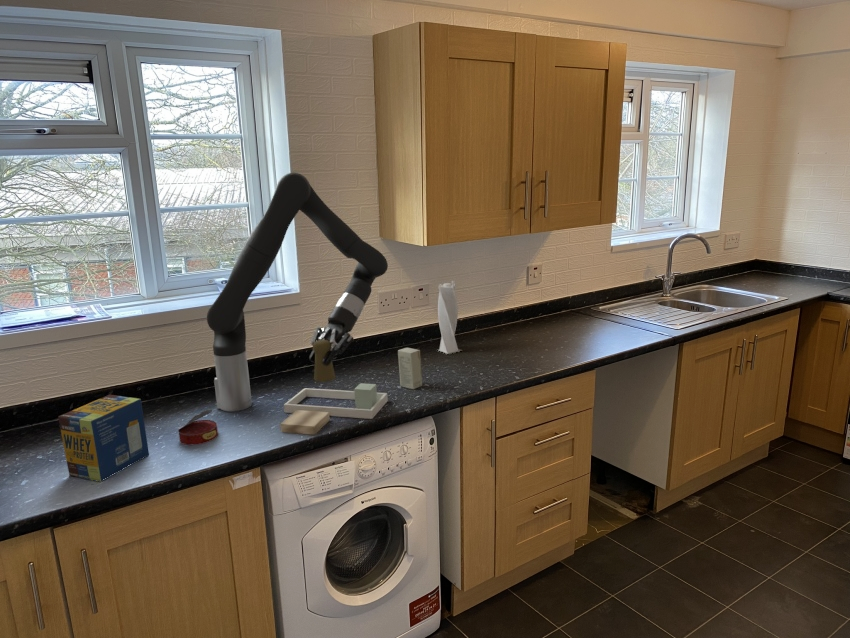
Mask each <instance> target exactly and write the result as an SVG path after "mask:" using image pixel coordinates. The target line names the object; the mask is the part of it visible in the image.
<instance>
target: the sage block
mask: <svg viewBox="0 0 850 638" xmlns="http://www.w3.org/2000/svg"><path fill="white" fill-rule="evenodd" d="M353 391H354V393H355V400H354V404H355V405H354V406H355V407H354V408H355V409H369V410H370V409H371V408H372V407H373V406H374V405H375V404H376V403H377V393H378V391H377V384H376V383H365V382H364V383H362V382H361V383H359V384H358V385H357V386H356V387H355V388H354V390H353Z"/></svg>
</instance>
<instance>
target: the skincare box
mask: <svg viewBox="0 0 850 638" xmlns="http://www.w3.org/2000/svg"><path fill="white" fill-rule="evenodd" d="M397 357H398V371H399V385H400V387H403V388H407V389H410V390H416V389H418V388H420V387H422V386H423V377H422V360H421V350H420V349H416V348H411V347H404V348H401V349H398V350H397Z"/></svg>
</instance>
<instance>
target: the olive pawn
mask: <svg viewBox="0 0 850 638" xmlns="http://www.w3.org/2000/svg"><path fill="white" fill-rule="evenodd" d="M329 348H330V342H329V341H328V340H324V339H323V340H318V341H317V340H316V342H314V344H313V345H312V351H314V352H315V363H314V371H313V372H314V373H313V377H314V378H313V380H314V381H315V382H318V383H320V382H321V383H324V382H331V381H333V380H335V379H336V373H335V369H334V365H333V360H332V361H331V363H330V364H329V365H328V366H325V365H324V364H323V363H322V361H323V359H324V357H325V355H326V353H327V352H328V351H329Z"/></svg>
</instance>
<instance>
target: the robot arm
mask: <svg viewBox="0 0 850 638" xmlns="http://www.w3.org/2000/svg"><path fill="white" fill-rule="evenodd" d="M275 187H276V188H275V191H274V193H273V194H272V197H271V199H270V203H269V205H268V207H267V209H266V211H265V212H264V215H263V216H262V217H261V219H260V220H259V222H258V223H257V225H255V227H254V229H253V230H252V231H251V233H250V234H249V236H248V238H247V239H246V242H245V244H244V245H243V247H242V249H241V251H239V254H238V257H237V258H236V261H235V264H234V265H233V267H232V269H231V272H230V275H229V278H228V279H227V282H226V284H225V286H224V287H223V289H222V290H221V292H220V293H219V295H218V296H217V298H216V299H215V301H214V302H213V303H212V305H211V306H210V307H209V308H208V310H207V313H206V314H207V315H206V321H207V325H208V327H209V329H211V331H213V332H214V333H213V335H214V337H213V338H214V339H213V344H212V351H213V358H214V359H213V360H214V367H215V375H216V377H214V380H213V383H214V389H215V390H214V391H215V400H216V406H217V409H220V410H222V411H224V412H238V411H242V410H246V409H248V408H250V407H251V406H252V395H251V394H252V393H251V385H250V384H251V383H250V374H249V367H248V358H247V349H246V348H247V347H246V343H247V342H246V341H247V339H246V338H247V335H246V334H247V331H246V322H245V320H246V319H245V313H244V308H245V306H246V304H247V302H248V300H249V298H250V296H251V295H252V293H253V292H254V291H255V290H256V288H257V287H258V286H259V284H260V283H261V282H262V280H263V279H264V277H265V276H266V274H267V273H268V272H269V270H270V268H271V267H272V265H273V263H274V261H275V259H276V257H277V256H278V254H279V251H280V249H281V247H282V246H283V242H284V240H285V237H286V234H287V232H288V229H289V227H290V225H291V224H292V221H293V220H294V218H295V217H296V215H297V214H298V212H299V211H300V212H302V213H303V215H305V216H306V217H308V218H309V219H310V220H311V221H312V222H313V223H314V225H315V226H316V227H317V228H318V229H319V231H320V232H321V233H322V234H323V235H324V237H325V238H326V239H327V240H328V241H329V242H330V243H331V244H332V245H333V246H334V247H335V248H336V250H338V251H339V252H340V253H341V254H342V255H343V256H345V258H347V259H353V260H355V261H356V262H358V263H357V264H356V267H354V268H355V269H354V270H353V273H352V276H351V279H350V282H349V283H348V285H347V287H346V288H345V289H344V292H343V293H342V295H341V296H340V298H338V300H337V302H336V304H335V305H334V307H333V308H332V311H331V312H330V314H329V316H328V317H327V321H328V323H327V325H325V326H324V327H323V328H321V327H320V326H317V327H316V328H315V331H314V333H313V336H312V338H311V342H310V344H311V346H313V344H314V342H316V341H318V340H328V341H329V342H330V348H329V351H328V352H327V353H326V355H325V357H324V359H323V361H322V363H323V364H324V365H325V366H328V365H329V364H330V363H331V361H332V362H333V359H334V358H335V357H336V356H337V355H342V354H343V353H344V352H345V351H346V350H347V348H348V347H349V346H350V344H351V343H352V342H353V341H354V336H353V335H352V334H350V332H352V330H354V329H353V328H354V327H355V325H356V322H357V321H358V320H359V318H360V316H361V314H362V312H363V310H364V306H365V305H366V303H367V302H368V300H369V297H370V295H371V293H372V284H373V283H374V281H375V280H376V278H379V277H381V276H383V275H384V274H386V273H387V271H388V265H389V264H388V261H387V258H386V256H384V254H383V253H381V251H379V250H378V249H377V248H375V247H374V246H372V245H371V244H369V243H368V242H366V241H364V240H363V239H362V238H361V237H360V236H359V235H358V234H357V233H356V232H355V231H354V229H352V228H351V227H350V226H349V225H348V224H347V223H346V222H345V221H343V220H342V219H341V218H340V217H339V216H338V215H337V214H336V213H334V211H333V210H332V209H331V208H330V207H329V206H328V205H327V204H325V202H324V201H323V200H322V198H321V197H320V196H319V195H318V194H317V192H316V191H315V190H314V188H313V186H312V184H311V183H310V182H309V180H308V179H307V177H305V176H304V175H303V174H301V173H298V172H289V173H286V174H284V175H283V176H282V177H280V178H279V180H278V182H277V184H276V186H275ZM308 360H309V361H310V362H311V363H313V364H315V352H314V351H313V350H312V351H311V353H310V354H309V357H308Z"/></svg>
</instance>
